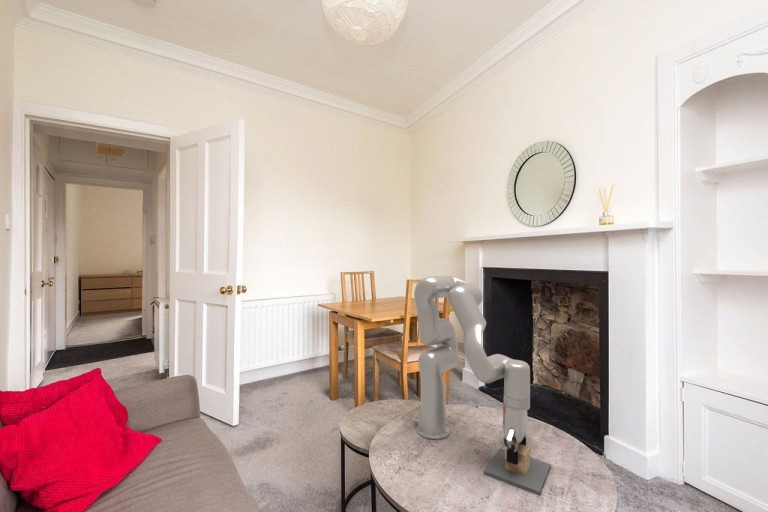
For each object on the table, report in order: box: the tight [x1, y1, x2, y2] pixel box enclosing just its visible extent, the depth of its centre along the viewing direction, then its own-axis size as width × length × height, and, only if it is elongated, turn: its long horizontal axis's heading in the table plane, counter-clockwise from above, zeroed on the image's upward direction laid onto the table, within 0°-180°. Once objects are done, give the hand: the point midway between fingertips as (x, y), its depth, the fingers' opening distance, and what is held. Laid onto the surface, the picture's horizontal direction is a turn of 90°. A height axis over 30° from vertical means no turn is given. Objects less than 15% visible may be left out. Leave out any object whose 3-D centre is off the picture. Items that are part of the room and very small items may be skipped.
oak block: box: [504, 442, 531, 476], centre depth 105 cm, size 6×6×6 cm
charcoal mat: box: [483, 447, 552, 496], centre depth 105 cm, size 16×16×1 cm
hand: (516, 455), depth 105 cm, fingers open, 9 cm apart
